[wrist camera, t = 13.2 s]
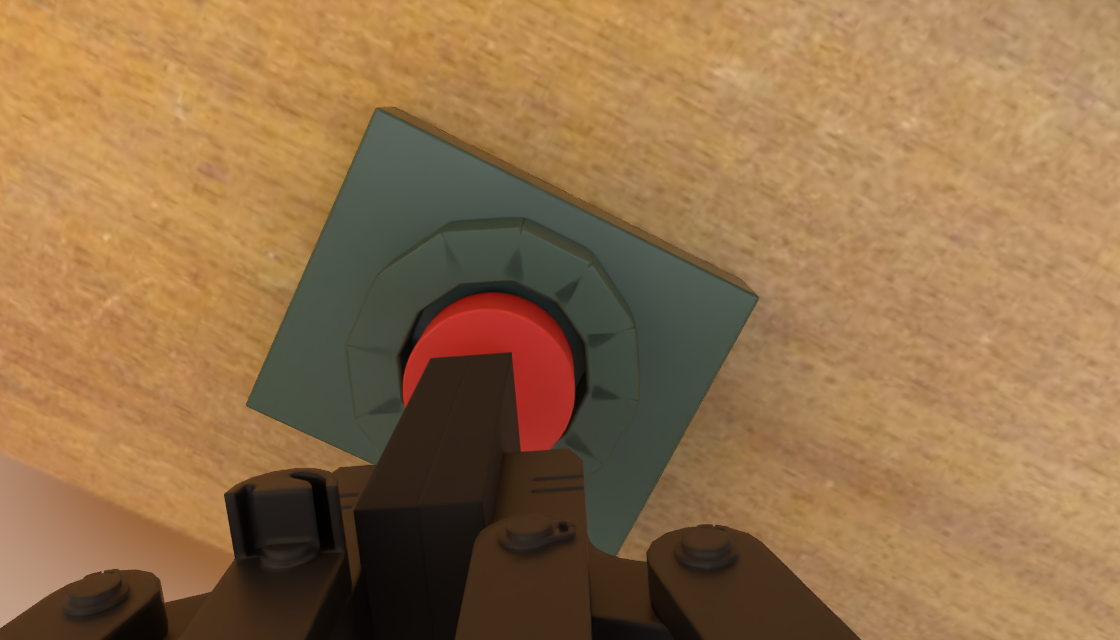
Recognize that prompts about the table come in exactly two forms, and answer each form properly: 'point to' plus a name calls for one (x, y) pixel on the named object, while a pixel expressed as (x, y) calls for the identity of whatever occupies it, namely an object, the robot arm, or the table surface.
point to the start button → (535, 356)
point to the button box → (507, 267)
